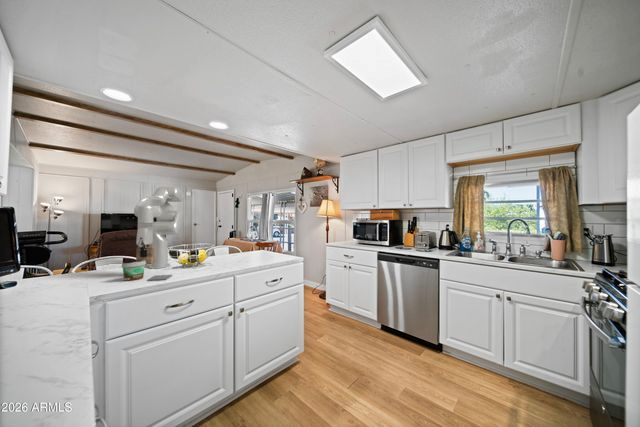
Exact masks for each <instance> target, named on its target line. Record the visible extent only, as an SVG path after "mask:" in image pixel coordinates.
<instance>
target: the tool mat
mask: <svg viewBox="0 0 640 427" xmlns="http://www.w3.org/2000/svg"><path fill="white" fill-rule="evenodd" d="M172 277H173V274H158V275H153V276H151V277H150V278H148V279H147V280H146V282H154V281H155V282H157V281H158V282H159V281H167V280H168V279H170V278H172Z"/></svg>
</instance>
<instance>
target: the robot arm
mask: <svg viewBox="0 0 640 427" xmlns="http://www.w3.org/2000/svg"><path fill="white" fill-rule="evenodd" d="M184 198H185V195H184V193H183V191H182V190H181V189H180V188H178V187H176V186H165V185H163V186H159V187H157V188H156V189H155V191H154V193H153V194H152V195H151V196H148V197H146V198H143V199H141V200H140V201H138V202H137V204H136V205H135V207H134V209H133V214H134V216H135V217H137V233H136V246H137V248H138V247H139V248H140V257H147V250H146V247H154V263H153V264H148V267H147V268H149V269H161V268H163V269H164V268H167V267H170V266H171V263H169V258H168V256H169V254H168V253H169V248H168V246H169V245H168V244H169V240H168V239H167V237H166V236H176V235H177V234H179V232H180V229H181V226H182V223H183V213H182V212H181V211H179V210H174V207H173V206H172V204H170V202H171V203H173V202H174V203H176V202H177V203H180V202H181V203H182V202H183V201H184V200H185V199H184ZM154 218H156V221H154Z"/></svg>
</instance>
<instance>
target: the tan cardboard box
mask: <svg viewBox="0 0 640 427" xmlns="http://www.w3.org/2000/svg"><path fill="white" fill-rule="evenodd" d="M146 250H147V257H140V248H139V247H138V246H137V247H136V251H135V252H136V256H135V258H136V260H135V262H140V261H142V259H143V260H145V261H146V264H145V265H151V264H153V263H154V247H146Z"/></svg>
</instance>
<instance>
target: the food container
mask: <svg viewBox="0 0 640 427" xmlns="http://www.w3.org/2000/svg"><path fill="white" fill-rule="evenodd" d="M145 265H147V264H146V261H145V260H143V259H142V261H140V262H136V261H133V262H126V263H125V262H123V263H122V264H121V268H122V274H123V282H135V281H139V280H142V279H144V274H145Z"/></svg>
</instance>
